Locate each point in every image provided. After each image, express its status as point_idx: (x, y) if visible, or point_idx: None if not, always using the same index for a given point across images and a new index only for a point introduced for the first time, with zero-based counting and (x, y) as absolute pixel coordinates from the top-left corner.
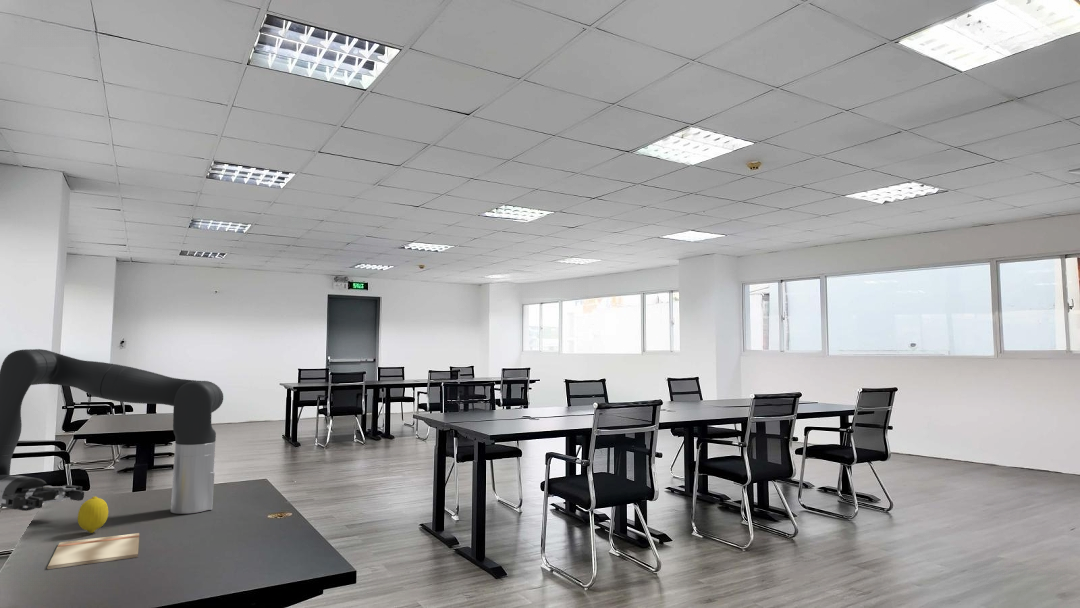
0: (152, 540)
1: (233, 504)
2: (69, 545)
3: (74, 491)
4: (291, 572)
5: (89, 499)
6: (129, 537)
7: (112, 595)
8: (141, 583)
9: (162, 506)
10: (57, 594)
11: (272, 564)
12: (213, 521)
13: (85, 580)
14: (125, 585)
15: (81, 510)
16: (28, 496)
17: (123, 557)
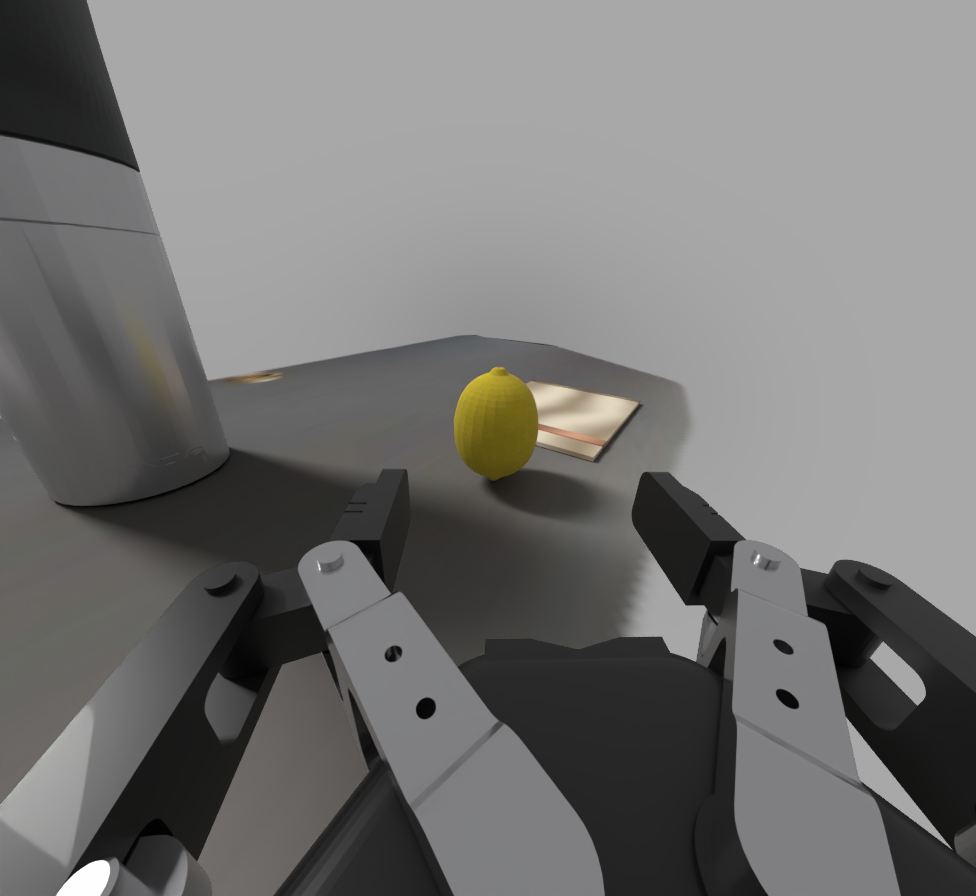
0: None
1: None
2: (584, 435)
3: (392, 511)
4: (484, 341)
5: (513, 377)
6: None
7: (600, 362)
8: (571, 362)
9: None
10: (639, 374)
11: (476, 346)
12: (317, 402)
13: (608, 377)
14: (584, 364)
15: (536, 407)
16: (752, 544)
17: (549, 383)
